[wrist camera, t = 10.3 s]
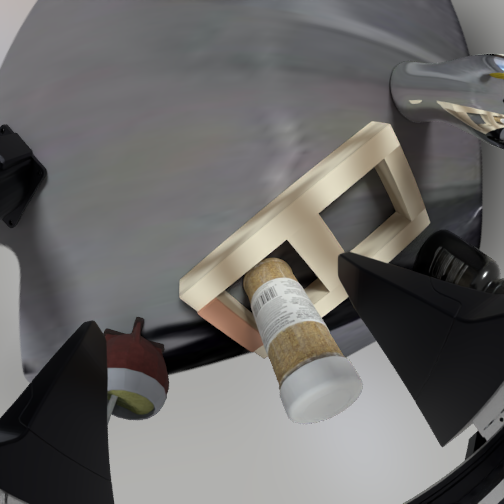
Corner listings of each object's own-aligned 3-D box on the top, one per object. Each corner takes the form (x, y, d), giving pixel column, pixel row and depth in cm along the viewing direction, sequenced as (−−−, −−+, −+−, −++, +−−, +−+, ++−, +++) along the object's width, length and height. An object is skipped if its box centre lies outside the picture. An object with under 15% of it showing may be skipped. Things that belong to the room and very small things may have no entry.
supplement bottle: (421, 287, 31) (481, 346, 20) (409, 253, 27) (483, 317, 17) (455, 253, 30) (517, 302, 19) (446, 216, 26) (523, 266, 16)
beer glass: (443, 115, 21) (570, 152, 8) (400, 136, 21) (547, 188, 8) (422, 51, 17) (558, 58, 4) (374, 64, 18) (536, 64, 5)
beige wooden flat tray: (258, 341, 28) (264, 360, 26) (179, 279, 23) (179, 299, 21) (414, 213, 25) (432, 224, 23) (371, 121, 20) (392, 124, 17)
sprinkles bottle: (260, 306, 26) (309, 432, 14) (231, 276, 24) (272, 415, 12) (300, 278, 26) (373, 395, 14) (275, 244, 23) (352, 369, 12)
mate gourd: (176, 324, 25) (186, 478, 12) (157, 372, 28) (161, 499, 15) (101, 301, 22) (63, 455, 9) (93, 355, 25) (73, 482, 12)
